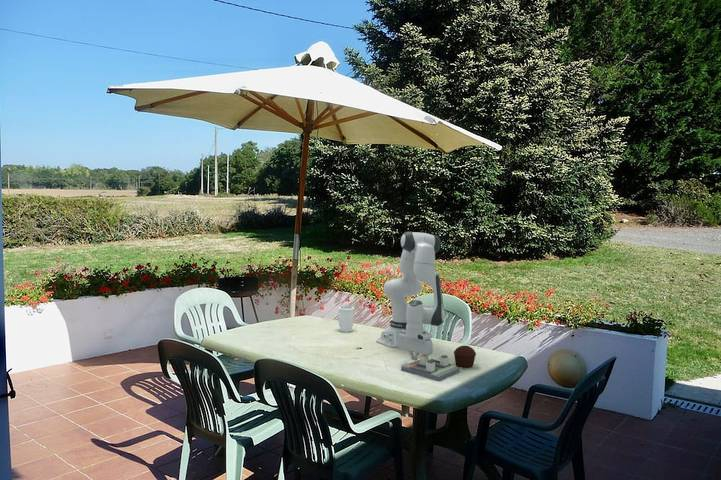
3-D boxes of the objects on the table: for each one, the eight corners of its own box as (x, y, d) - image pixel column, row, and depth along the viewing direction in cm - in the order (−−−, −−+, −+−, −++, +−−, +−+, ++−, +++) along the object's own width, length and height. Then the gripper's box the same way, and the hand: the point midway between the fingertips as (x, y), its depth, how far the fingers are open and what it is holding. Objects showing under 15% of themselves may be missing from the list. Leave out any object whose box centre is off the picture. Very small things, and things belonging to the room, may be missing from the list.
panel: (401, 370, 260) (401, 364, 260) (423, 361, 274) (423, 356, 274) (438, 381, 246) (438, 375, 245) (459, 371, 260) (460, 366, 260)
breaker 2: (439, 364, 261) (440, 355, 261) (443, 363, 264) (443, 354, 263) (444, 366, 259) (445, 357, 259) (448, 364, 262) (448, 355, 261)
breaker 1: (425, 370, 253) (426, 361, 252) (429, 369, 255) (429, 359, 255) (431, 372, 251) (431, 362, 250) (434, 370, 253) (435, 361, 253)
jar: (336, 329, 340) (336, 306, 339) (351, 328, 344) (351, 305, 342) (340, 333, 330) (340, 309, 329) (356, 332, 333) (356, 308, 332)
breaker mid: (419, 364, 262) (419, 355, 262) (423, 362, 265) (423, 353, 264) (424, 365, 260) (424, 356, 260) (428, 363, 263) (428, 354, 262)
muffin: (460, 360, 278) (460, 342, 277) (479, 365, 271) (480, 346, 270) (449, 366, 268) (449, 346, 268) (468, 370, 261) (469, 351, 261)
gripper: (394, 330, 270) (394, 356, 271) (427, 337, 257) (426, 365, 258) (402, 328, 275) (401, 354, 276) (434, 335, 261) (434, 362, 262)
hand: (414, 359), depth 267 cm, fingers closed
